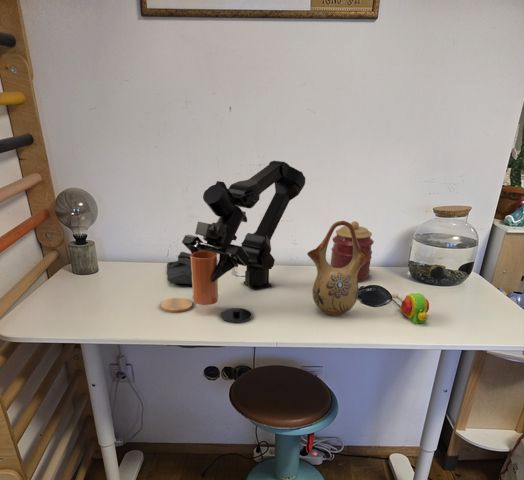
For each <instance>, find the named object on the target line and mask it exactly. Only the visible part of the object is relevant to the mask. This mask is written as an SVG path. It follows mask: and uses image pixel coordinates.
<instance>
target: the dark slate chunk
mask: <svg viewBox="0 0 524 480" xmlns="http://www.w3.org/2000/svg"><path fill="white" fill-rule="evenodd" d="M190 267H191V253H189V252H186V251H180V252H179V254H178V256H177V260H176V261H169V262H167V263H166V275H167V278H166V280H167V281H168V282H169V283H170V284H177V285H191V286H192V276H191V275H190Z"/></svg>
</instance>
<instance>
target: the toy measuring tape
mask: <svg viewBox="0 0 524 480" xmlns="http://www.w3.org/2000/svg"><path fill="white" fill-rule="evenodd" d="M390 294H391V295H392V299H391V300H393V301H394V302H395V303H396V304H397V306H400V307H399V311H400V312H401V313H402V314H403V315H404V316H405V317H406V318H408V319H410V320H411V321H412V322H413V323H414V324H424V323H425V322H426V320H428V317H429V315H428V312H429V310H430V302H429V300H428V299H427V297H425V295H424V294H422V293H420V292H415V293H410V294H406V295H405V297H404V299H403V300H401V299H399V294H398V293H390Z"/></svg>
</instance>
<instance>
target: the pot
mask: <svg viewBox="0 0 524 480" xmlns="http://www.w3.org/2000/svg"><path fill="white" fill-rule="evenodd" d="M190 254H191V253H190ZM217 264H218V254H216V253H215V252H211V251H197V252H194V253H192V254H191V271H192V285H191V286H192V287H191V288H192V299H193V303H194V304H196V305H200V306H210V305H214V304H216V303H218V301H219V278H218V279H217V280H216V281H214V282H212V281H211V277H212V275H213V273H214V270H215V268H216V266H217Z"/></svg>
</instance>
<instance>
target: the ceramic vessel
mask: <svg viewBox="0 0 524 480" xmlns="http://www.w3.org/2000/svg"><path fill="white" fill-rule="evenodd" d="M342 226H347V227H348V228H349V230H350V233H351V237H352V242H353V257H352V260H351V262H350V263H349V264H348V265H347V266H345V267H343V268H334V267H332V266H330V263H329V262H328V261H327V250H328V245H329V242H330V240H331V239H332V235H333V234H334V231H335V230H336V228H337V227H342ZM306 255H307V256H308V257H309V258H310V260H312V262H313V263H314V265H315V267H316V272H317V273H316V277H315V279H314V281H313V285H312V300H313V302H314V304H315V306H316V307H317V309H318V310H319V311H320V312H321V313H323V314H324V315H326V316H333V317H339V316H340V317H341V316H342V315H343V316H344V315H345V314H346V313H348V312H349V311H351V309H352V308H353V307H354V306H355V305H356V303H357V300H358V298H359V293H360V286H359V281H357V275H358V272H359V270H360V268H361V267H362V266H363V265H364V264H365V263H366V262H367V261H368V260H370V259H372V255H371V256H370V255H369V254H368V253H366V252H364V251H363V250H362V249H361V247H360V245H359V243H358V241H357V238H356V234H355V231H354V228H353V226H352V225H351V223H350V222H349V221H345V220H339V221H335V222H334V223H333V224H332V225H331V226H330V228H329V230H328V231H327V233H326V235H325V236H324V238H323V240H322V241H321V243H320V244H319V245H318V246H316V247H315V248H314V249H311V250H309V251H308V252H307V253H306Z"/></svg>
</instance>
